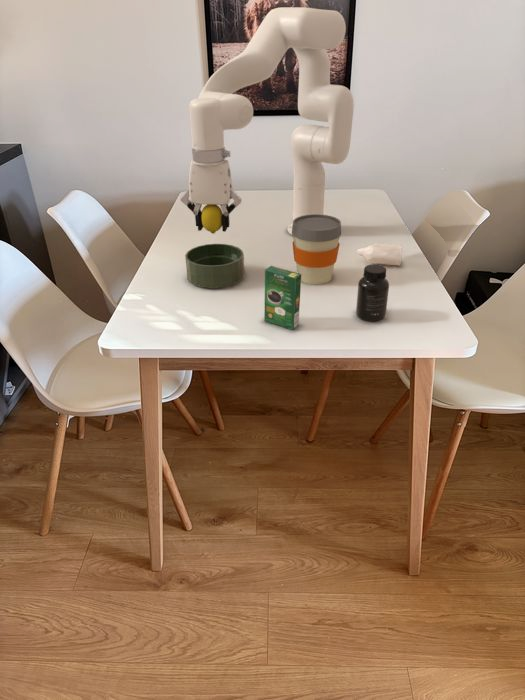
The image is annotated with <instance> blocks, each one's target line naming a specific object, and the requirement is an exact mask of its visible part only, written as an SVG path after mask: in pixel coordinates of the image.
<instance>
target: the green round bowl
mask: <svg viewBox="0 0 525 700" xmlns="http://www.w3.org/2000/svg"><path fill="white" fill-rule="evenodd" d="M184 258H185V268H186V279H187V280H188V282H190V284H193V285H195V286H197V287H202V288H208V289H209V288H212V289H216V288H226V287H230V286H233V285H236V284H237V283H239V282H241V281H242V280H243V279H244V278H245V277H244V276H245V255H244V251H243V250H242V249H241V248H240V247H238V246H236V245H232V244H227V243H206V244H202V245H198V246H195V247H193V248H191V249H189V250H188V251H187V252H186V253H185V255H184Z"/></svg>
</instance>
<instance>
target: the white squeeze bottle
mask: <svg viewBox="0 0 525 700" xmlns="http://www.w3.org/2000/svg"><path fill="white" fill-rule="evenodd" d="M356 252H357V254H358V255H359V256H360V257H362V258H363V259H365V260H366V261H367V262H368V263H370V264H376V265H388V266H399V267H400V266H401V264H402V263H401V262H402V255H403V245H401V244H400V245H399V244H392V243H391V244H390V243H381V242H375V243H373V244H370V245H367V246H366V247H361V248H358V249H357V250H356Z"/></svg>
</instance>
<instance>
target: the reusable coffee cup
mask: <svg viewBox="0 0 525 700" xmlns="http://www.w3.org/2000/svg"><path fill="white" fill-rule="evenodd" d="M292 223H293V226H292V235H291V236H292V237H293V241H292V251H293V260H294V262H295V264H296V273H299V274H301V283H304V284H309V285H322V284H326V283H329V282H330V281H331V280H332V278H333V271H334V268H335V267H334V266H335V264H336V263H337V260H338V254H339V250H340V242H339V241H340V237H341V236H342V221H341V220H340V219H339V218H338V217H335V216H332V215H328V214H323V215H320V214H311V215H304V216H300V217H297V218H295V219H294V221H293V220H292Z"/></svg>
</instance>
